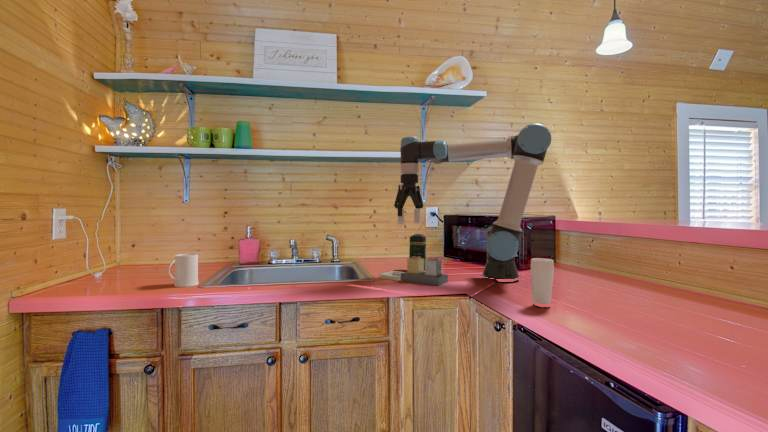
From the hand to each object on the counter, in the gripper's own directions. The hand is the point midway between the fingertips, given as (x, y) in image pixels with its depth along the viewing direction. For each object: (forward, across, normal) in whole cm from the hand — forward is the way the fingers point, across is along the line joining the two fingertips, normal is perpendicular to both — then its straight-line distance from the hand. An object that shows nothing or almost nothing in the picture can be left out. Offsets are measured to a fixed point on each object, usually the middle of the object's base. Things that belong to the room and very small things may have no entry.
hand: (409, 223), depth 158 cm
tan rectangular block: (+23, +3, +5) cm, 24 cm away
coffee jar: (+24, -18, -6) cm, 31 cm away
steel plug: (+23, +3, +13) cm, 27 cm away
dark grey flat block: (+24, +3, +9) cm, 26 cm away
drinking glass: (+25, +11, +56) cm, 62 cm away
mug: (+24, +63, -66) cm, 94 cm away
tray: (+24, +2, -6) cm, 25 cm away
